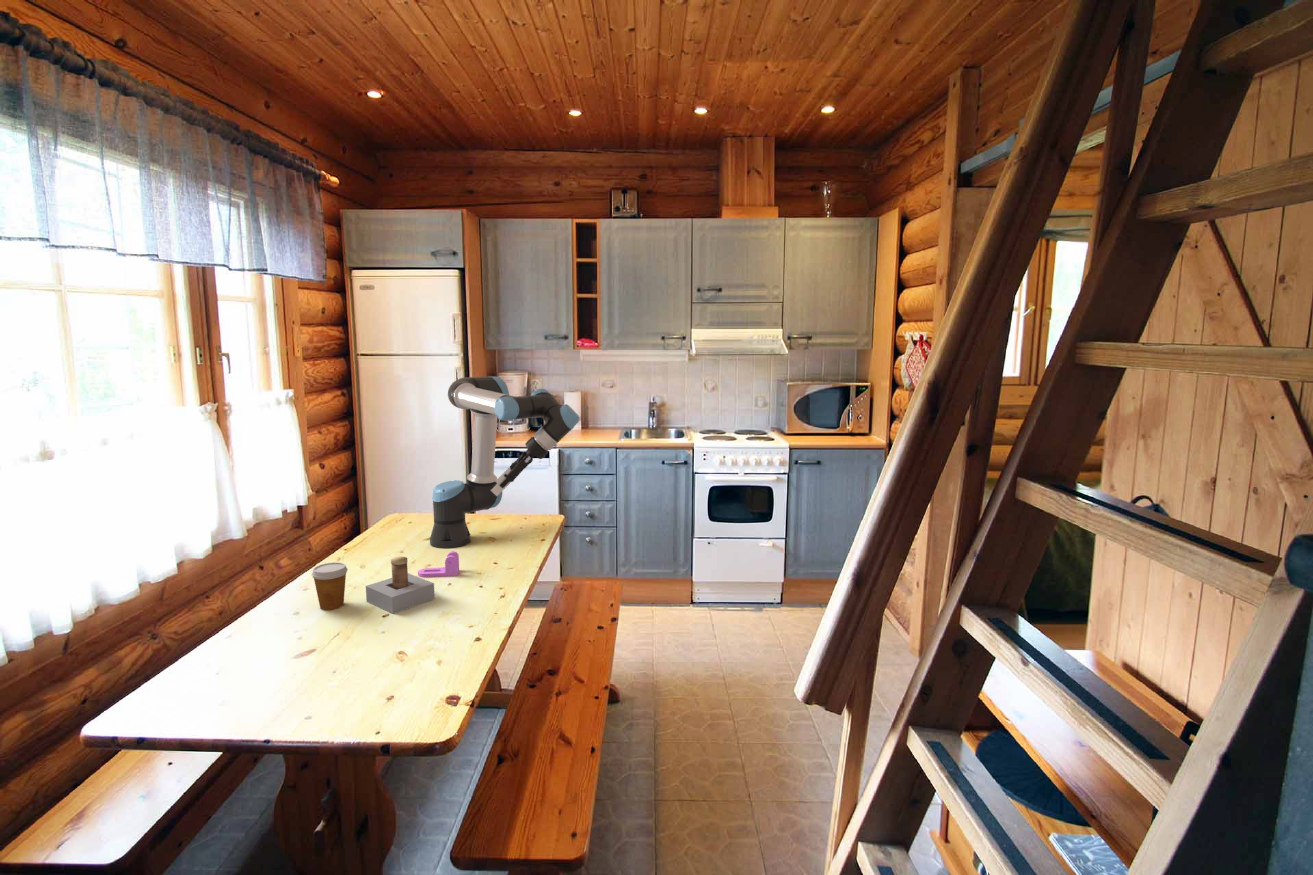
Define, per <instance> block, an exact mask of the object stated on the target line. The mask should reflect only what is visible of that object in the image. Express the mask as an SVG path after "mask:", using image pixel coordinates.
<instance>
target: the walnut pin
mask: <svg viewBox="0 0 1313 875" xmlns="http://www.w3.org/2000/svg"><path fill="white" fill-rule="evenodd" d="M390 564H391V575H392V576H391V578H392V584H393V589H396V590H398V589H401V588H404V587H407V586H408V557H407V556H396V557H392V558H391V559H390Z"/></svg>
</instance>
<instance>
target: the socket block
mask: <svg viewBox="0 0 1313 875" xmlns="http://www.w3.org/2000/svg"><path fill="white" fill-rule="evenodd" d="M365 595H366V596H365V598H366V603H368V604H370V605H373V606H375V607H377V608H380V609H381V610H384V611H385V612H388V613H391V614H393V615H394V614H396V613H399V612H401V611H402V612H403V611H404V610H407V609H410V608H414V607H417V606H418V605H421V604H424V603H427V602H430V601H432V600H435V599H436V597H435V595H436V594H435V583H434V582H432V581H429V580H426V579H424V578H423V577H419V576H418V575H417V576H416V575H414V574H412V573H408V586H407V587H404V588H401V589H398V590H396V589H393V584H392V577H391V578H388V579H384V580H380V581H378V582H374V583H371V584H368V585H365Z"/></svg>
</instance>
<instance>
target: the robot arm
mask: <svg viewBox="0 0 1313 875" xmlns="http://www.w3.org/2000/svg"><path fill="white" fill-rule="evenodd" d="M509 391H510V390H509V388H508V385H507V383H506V381H504V379H503V378H501V377H500V376H492V375H488V376H487V375H486V376H474V377H471V376H468V377H467V376H466V377H460V378H458V379H456V380H455V381H453V382H452V383H451V384H450V386H449V387H448V391H447V397H448V400H449V402H450V404H451V405H452V406H453V407H455V408H458V409H462V410H470V412H471V413H472V414H473V415H474V416H473V417H474V419H473V420H474V421H473V434H472V436H473V437H472V438H473V439H472V454H471V469H470V470H471V471H470V473H469V474H468V475H467V476H466V482H464V481H462V480H456V479H455V480H448V481H447V480H446V481H443V482H441V483H438V484H436V485H435V487H434V488H433V489H432V497H431V498H432V505H433V506H432V510H433V512H432V513H433V527H432V530H431V534H430V537H429V545H430V546H431V547H434V548H438V549H450V548H451V549H452V548H458V547H463V546H466V545H468V544H469V543H470V542H471V540H472V539H471V538H472V537H471V533H470V530H469V527H468V524H467V523H466V514H469V513H473V512H480V511H488V510H490V509H493V508H495V507H497V506H499V504H500V503H501V501H502V498H503V491H504V490H505V489H506V488H507V487H508V486H509V485H510V484H511V483H513V482H514V481H515V480H516V479H517V477H518V476H520V474H521V473H522V472H523V471H524V470H525V469H526V468H527V467H528V466H529V465H531V464H532V462H533V461H534V458H535V457H536V458H537V459H539V460H542V459H543V458H545V457H546V456H547V454H548V453H549V451H551V450H552V449H553V448H558V445H557V444H558V443H559V442H560V441H561V440H562V439H563V438H564V437H565V436H566V435H568V434H569V432H571V431H572V430H573V429H574V428H575V427H576V425H577V424H578V423H579V422H580V420H581V418H580V415H579V414H578V413H577V412H575V410H574V409H573V408H572V407H571V406H570V405H569V404H564V405H561V403H560V402H558V400H557V399H556V398H555V396H554V395H553V394H552V393H551V392H549V391H548V390H547V388H546V389H545V388H538V389H537V390H534V391H533V392H531V394H530V395H521V396H518V395H517V396H516V395H515V396H514V395H511V394H510V392H509ZM535 418H542V419H543V421H544V422H545V423H544V424H543V425H542V426H541V427H540V428H538V430H537V431H536V432H535V433H533V434H534V435H533V436H531V437H530V438H529V439H528V440H527V441H526V442H525V443H524V444H525V447H526V450H524V451H523V452H522V453H521V454H520V455H519V457H518V458H517V459H516V460H514V461H513V462H512V463H511V464H510V466H508V468H507V469H506V470H505V471H504V472H502V474H500V475H499V477H497V475H495V472H494V471H495V459H496V458H495V457H496V445H497V444H496V443H497V442H496V440H497V427H498V420H500V421H513V420H524V419H535Z"/></svg>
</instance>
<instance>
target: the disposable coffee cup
mask: <svg viewBox="0 0 1313 875" xmlns="http://www.w3.org/2000/svg"><path fill="white" fill-rule="evenodd" d="M347 573H348V567H347V565H346V564H345V563H343V562H336V561H335V562H326V563H322V564H321V563H320V564H319V565H316V566H314V567H313V568H312V572H311V576H312V578H313V579H314V580H313V581H314V586H315V591H316V595H317V600H318V604H319V609H320V610H323V611H334V610H336V609H340V608H343V606H344V602H345V590H346V580H347V579H346V578H347V577H346V576H347Z"/></svg>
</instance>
